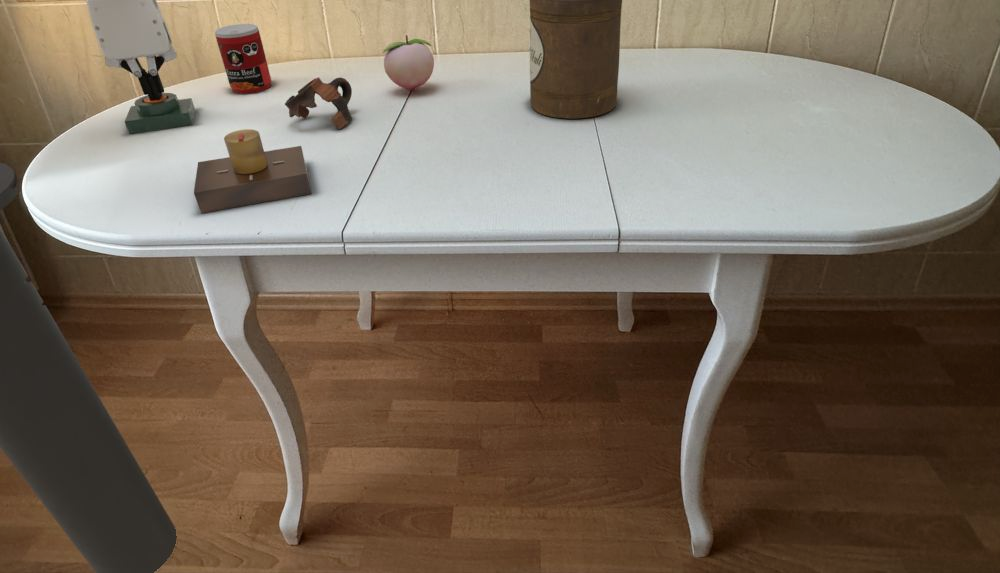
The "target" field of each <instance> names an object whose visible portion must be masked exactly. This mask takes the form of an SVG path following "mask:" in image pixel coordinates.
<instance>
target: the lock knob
mask: <svg viewBox="0 0 1000 573" xmlns="http://www.w3.org/2000/svg"><path fill="white" fill-rule="evenodd" d="M223 141H224V144H225V147H226V150H227V153H228V157H230V160H231V163H232V166H233V170H234V171H235V172H236V173H239V174H251V173H255V172H259V171H261V170H263V169H265V168H266V167H267V165H268V164H267V160H266V156H265V153H264V152H265V150H264V146H263V142H262V138H261V135H260V132H259V130H256V129H250V128H249V129H238V130H234V131H232V132H230V133H227V134H226V135H225V136H224V137H223Z"/></svg>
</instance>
